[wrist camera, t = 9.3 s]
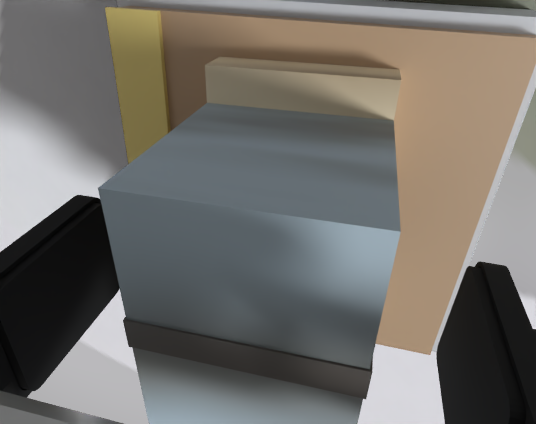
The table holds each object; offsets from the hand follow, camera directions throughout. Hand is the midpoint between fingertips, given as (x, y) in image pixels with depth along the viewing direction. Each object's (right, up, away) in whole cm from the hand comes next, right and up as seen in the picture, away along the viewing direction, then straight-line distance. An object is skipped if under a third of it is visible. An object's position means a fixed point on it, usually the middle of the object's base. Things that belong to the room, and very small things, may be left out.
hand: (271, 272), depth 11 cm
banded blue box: (+1, +2, +3) cm, 4 cm away
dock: (+2, +3, +5) cm, 7 cm away
